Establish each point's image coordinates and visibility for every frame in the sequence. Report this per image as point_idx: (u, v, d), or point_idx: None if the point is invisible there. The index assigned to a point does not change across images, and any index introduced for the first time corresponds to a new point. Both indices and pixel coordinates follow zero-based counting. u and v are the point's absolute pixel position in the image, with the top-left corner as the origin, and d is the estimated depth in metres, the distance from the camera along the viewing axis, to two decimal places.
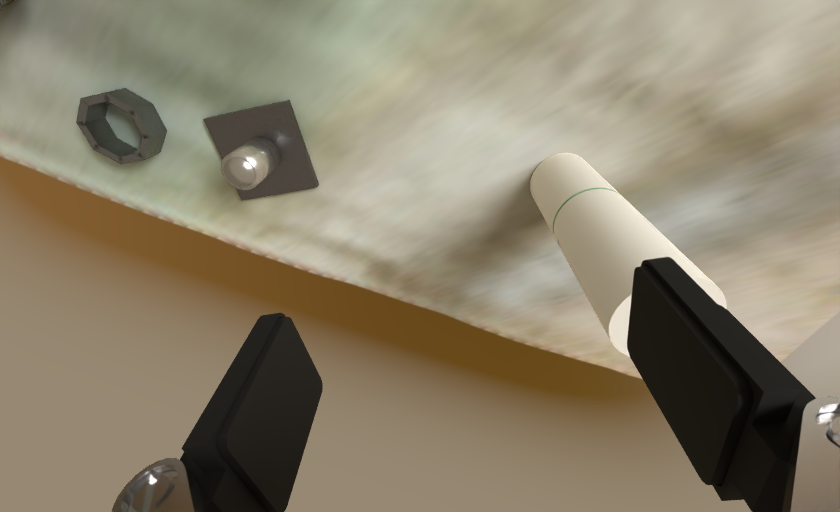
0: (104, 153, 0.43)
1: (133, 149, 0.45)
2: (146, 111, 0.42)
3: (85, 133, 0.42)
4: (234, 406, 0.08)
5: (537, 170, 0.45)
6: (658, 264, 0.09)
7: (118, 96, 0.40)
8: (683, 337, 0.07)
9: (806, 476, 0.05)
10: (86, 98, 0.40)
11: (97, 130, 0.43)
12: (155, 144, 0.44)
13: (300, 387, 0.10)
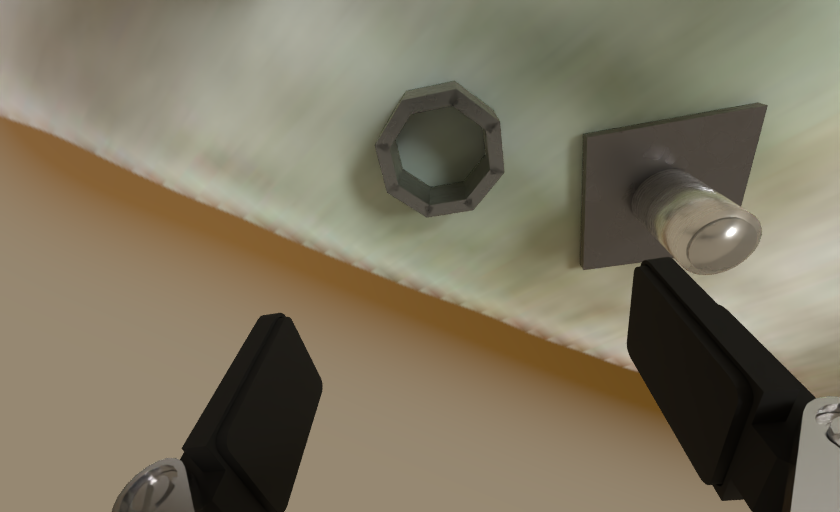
0: (404, 199, 0.24)
1: (428, 188, 0.26)
2: None
3: (384, 164, 0.23)
4: (234, 406, 0.08)
5: None
6: (658, 264, 0.09)
7: (468, 96, 0.21)
8: (683, 337, 0.07)
9: (806, 476, 0.05)
10: (413, 100, 0.21)
11: (394, 158, 0.24)
12: None
13: (300, 387, 0.10)
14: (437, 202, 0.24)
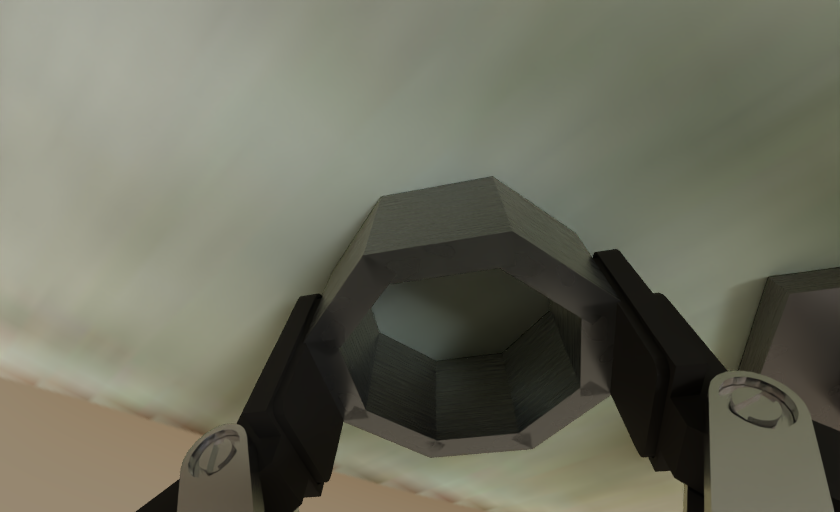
0: (380, 431, 0.11)
1: (431, 368, 0.13)
2: None
3: (330, 377, 0.10)
4: (286, 377, 0.08)
5: None
6: (605, 256, 0.09)
7: (539, 237, 0.08)
8: (620, 321, 0.08)
9: (719, 450, 0.05)
10: (394, 256, 0.08)
11: (357, 344, 0.11)
12: None
13: None
14: (453, 429, 0.11)
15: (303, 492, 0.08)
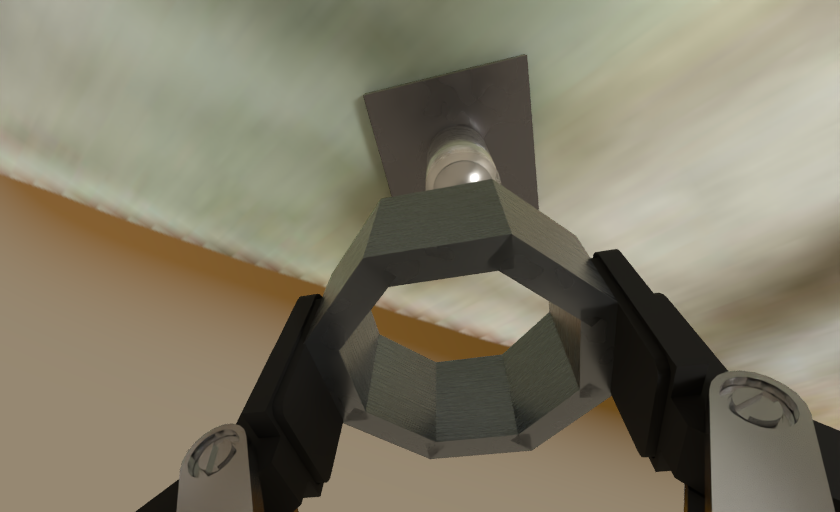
0: (380, 433, 0.11)
1: (431, 369, 0.13)
2: None
3: (329, 379, 0.10)
4: (286, 377, 0.08)
5: None
6: (606, 256, 0.09)
7: (538, 240, 0.08)
8: (621, 322, 0.08)
9: (719, 450, 0.05)
10: (393, 259, 0.08)
11: (357, 346, 0.11)
12: None
13: None
14: (453, 431, 0.11)
15: (303, 492, 0.08)
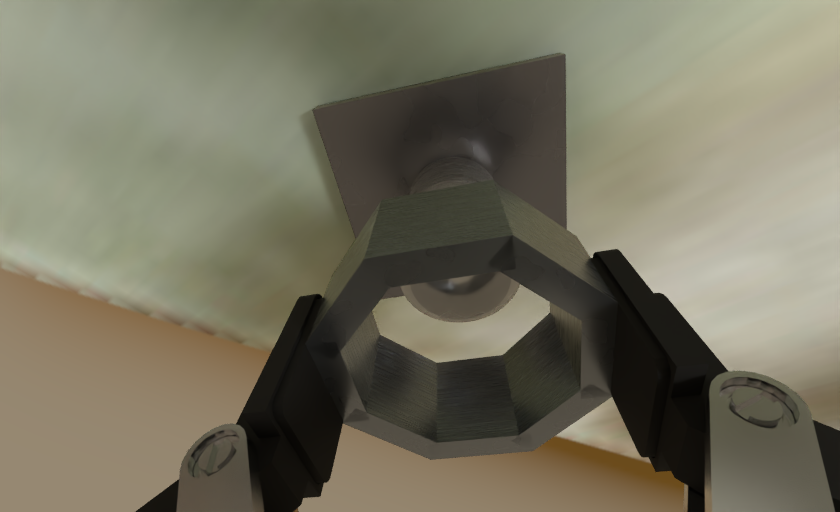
0: (381, 433, 0.11)
1: (432, 369, 0.13)
2: None
3: (331, 380, 0.10)
4: (286, 377, 0.08)
5: None
6: (606, 256, 0.09)
7: (539, 241, 0.08)
8: (621, 322, 0.08)
9: (719, 450, 0.05)
10: (394, 260, 0.08)
11: (358, 347, 0.11)
12: None
13: None
14: (453, 431, 0.11)
15: (303, 492, 0.08)
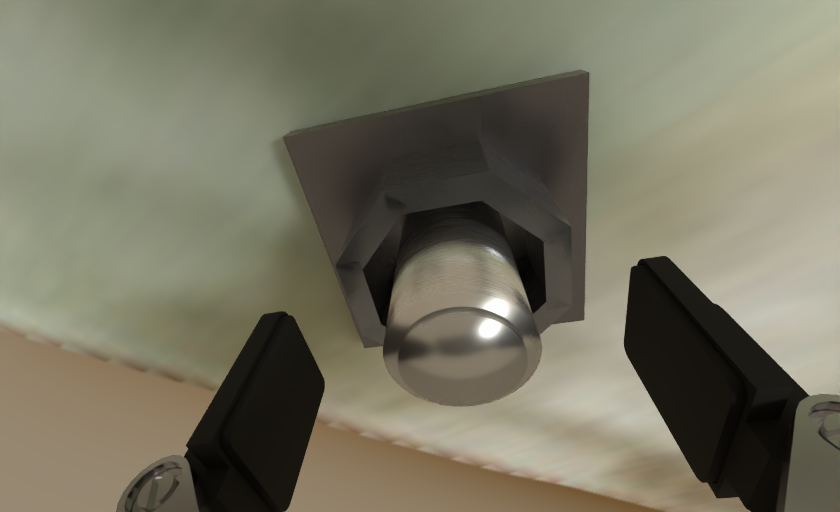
0: None
1: None
2: None
3: (354, 295, 0.13)
4: (238, 404, 0.08)
5: None
6: (654, 263, 0.09)
7: (511, 180, 0.11)
8: (678, 336, 0.07)
9: (799, 474, 0.05)
10: (404, 191, 0.11)
11: (374, 274, 0.13)
12: None
13: (303, 385, 0.10)
14: None
15: None
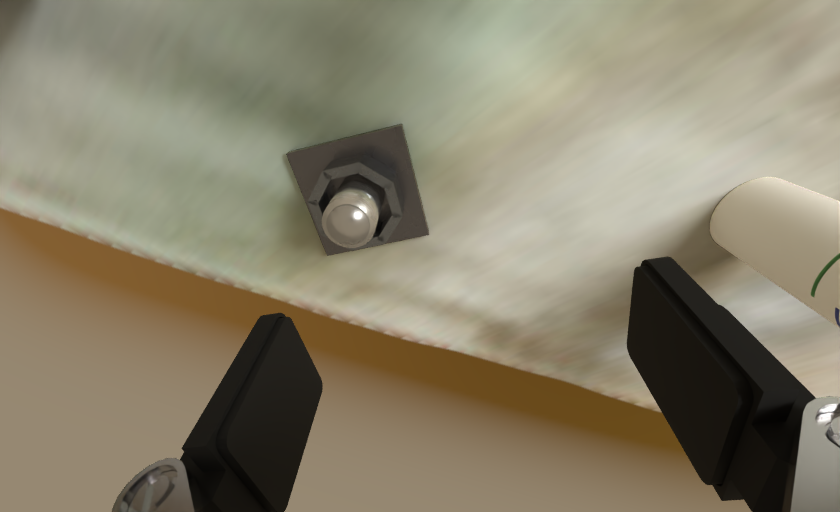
0: None
1: None
2: (396, 182, 0.31)
3: (315, 215, 0.31)
4: (234, 406, 0.08)
5: (728, 201, 0.33)
6: (658, 264, 0.09)
7: (370, 165, 0.30)
8: (683, 337, 0.07)
9: (806, 476, 0.05)
10: (330, 171, 0.30)
11: None
12: None
13: (300, 387, 0.10)
14: None
15: None
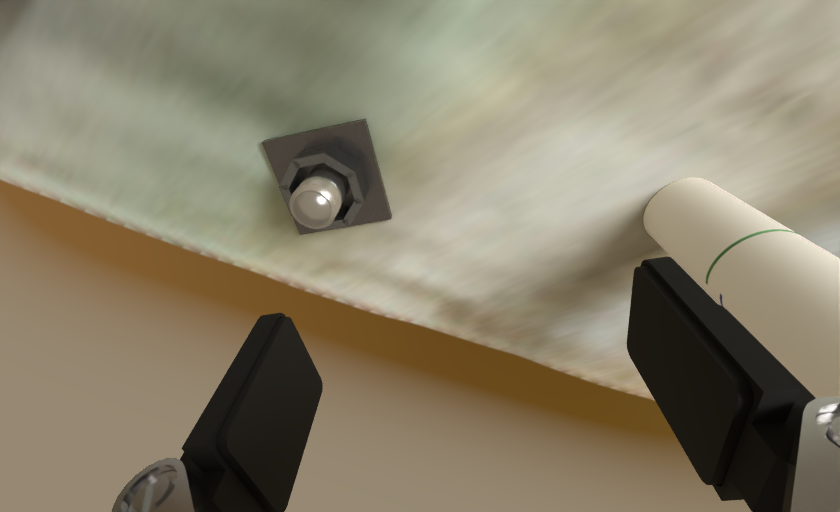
0: None
1: None
2: (359, 171, 0.35)
3: (287, 198, 0.35)
4: (234, 406, 0.08)
5: (658, 198, 0.37)
6: (658, 264, 0.09)
7: (334, 156, 0.34)
8: (683, 337, 0.07)
9: (806, 476, 0.05)
10: (299, 160, 0.33)
11: None
12: None
13: (300, 387, 0.10)
14: None
15: None
